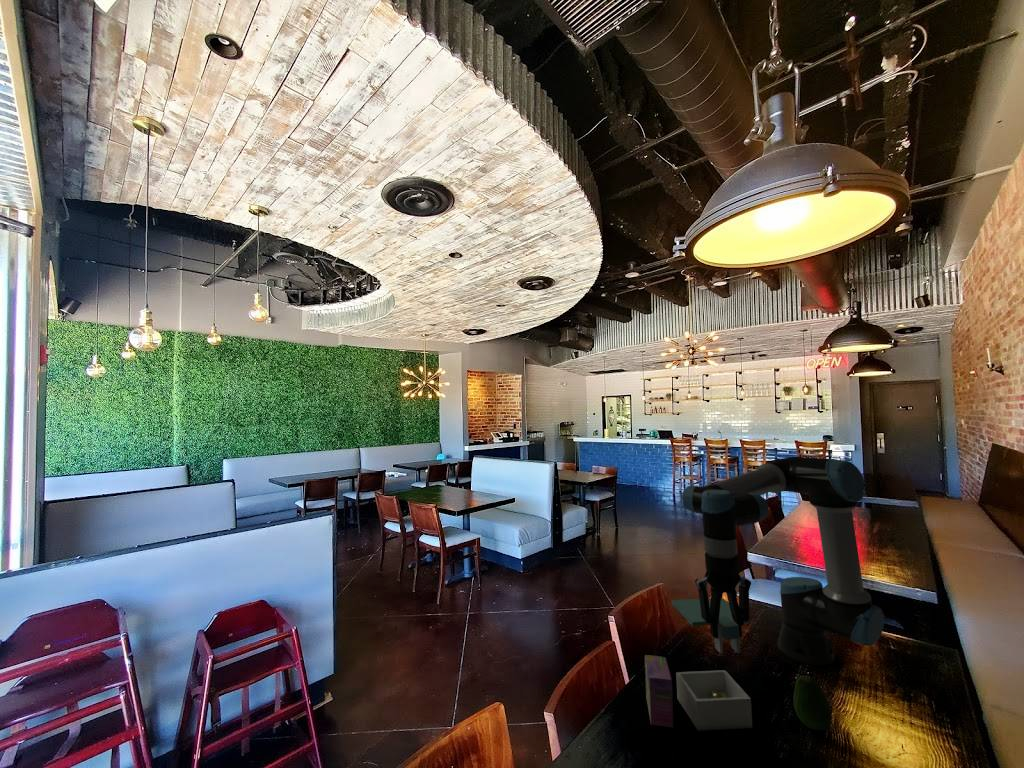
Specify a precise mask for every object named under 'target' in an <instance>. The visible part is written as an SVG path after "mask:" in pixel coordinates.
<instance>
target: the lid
mask: <svg viewBox="0 0 1024 768" xmlns="http://www.w3.org/2000/svg"><path fill="white" fill-rule="evenodd" d="M708 599H709V608H710V602H711V597H708ZM671 604H672V605H673V606H674V608H675V609H676V610H678V612H679V613H680V614H681V615H682V617H683V618H684V619H686V621H687V622H688V623H689V624H690V625H691V626H692V627H700V626H701V627H703V626H704V627H705V626H710V623H707V622H706V621H705V620H704V619H703V618H702V616H701V607H700V599H699V598H691V599H690V598H689V599H688V598H687V599H685V598H684V599H671ZM732 620H733V618H732V614H731V610H730V606H729V602H728V601H727V600H725V599H724V597H722V598H721V603H720V613H719V624H720V625H721V626H722V638H723V639H724V640H731V639H739V640H740V637H739V632H738V625H736V624H735V623H734V622H733V621H732ZM749 621H750V620H749ZM749 621H744V624H750V623H749Z"/></svg>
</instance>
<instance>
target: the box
mask: <svg viewBox="0 0 1024 768" xmlns="http://www.w3.org/2000/svg"><path fill="white" fill-rule="evenodd" d="M644 667H645V668H644V670H645V671H644V672H645V698H646V703H647V710H648V716H649V721H650V722H649V723H650V725H651V726H657V727H663V728H674V713H673V712H674V708H673V706H674V704H673V678H672V676H671V671H670V669H669V664H668V661H667V657H665V656H660V655H659V656H658V655H650V654H649V655H647V654H645V655H644Z"/></svg>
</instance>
